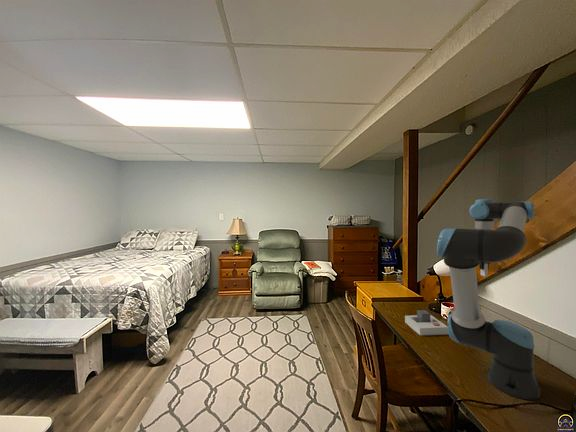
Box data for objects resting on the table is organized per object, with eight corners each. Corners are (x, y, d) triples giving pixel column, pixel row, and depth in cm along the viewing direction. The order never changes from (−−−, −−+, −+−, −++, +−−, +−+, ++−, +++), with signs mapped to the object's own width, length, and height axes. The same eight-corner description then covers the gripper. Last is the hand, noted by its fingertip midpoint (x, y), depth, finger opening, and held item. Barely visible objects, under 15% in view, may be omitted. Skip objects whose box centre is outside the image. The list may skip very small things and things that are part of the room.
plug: (430, 327, 143) (430, 313, 142) (421, 327, 142) (421, 313, 142) (425, 323, 148) (425, 310, 147) (417, 323, 147) (417, 310, 147)
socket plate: (448, 334, 135) (448, 326, 135) (420, 335, 135) (419, 327, 135) (430, 321, 151) (430, 313, 151) (405, 322, 151) (404, 314, 151)
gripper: (489, 228, 130) (489, 273, 130) (466, 229, 129) (466, 274, 130) (503, 229, 122) (502, 277, 123) (477, 230, 122) (477, 278, 122)
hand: (484, 275), depth 126 cm, fingers closed
